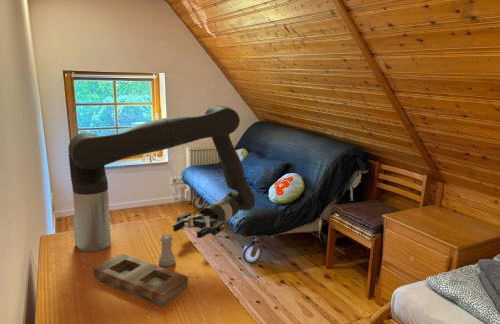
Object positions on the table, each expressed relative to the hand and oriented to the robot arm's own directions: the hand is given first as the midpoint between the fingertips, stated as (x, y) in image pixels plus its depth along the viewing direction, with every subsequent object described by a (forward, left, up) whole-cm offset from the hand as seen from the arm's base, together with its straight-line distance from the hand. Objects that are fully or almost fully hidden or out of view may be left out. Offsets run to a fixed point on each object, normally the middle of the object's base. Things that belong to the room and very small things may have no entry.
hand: (185, 231), depth 106 cm
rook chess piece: (0, -9, -6) cm, 11 cm away
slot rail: (+1, -20, -6) cm, 20 cm away
